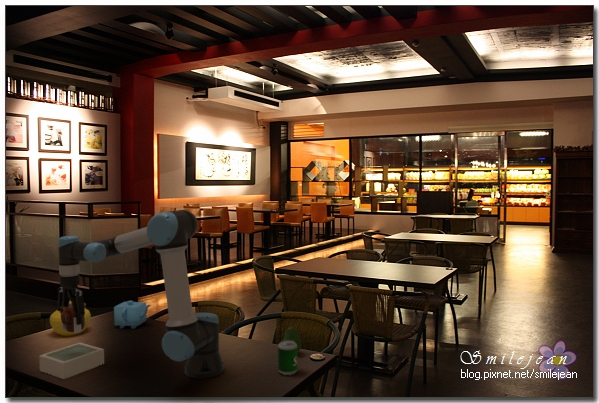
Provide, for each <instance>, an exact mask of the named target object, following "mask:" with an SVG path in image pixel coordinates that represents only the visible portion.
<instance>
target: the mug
mask: <svg viewBox="0 0 599 403" xmlns="http://www.w3.org/2000/svg"><path fill="white" fill-rule="evenodd" d="M86 305H87V304H86V303H85V302H84V309H86ZM62 308H63V310H64V311H63V312H62V313H61V321H62V323H63V324H64V325H65V329H66V331H68V332H74V316H75V314H74V310H73V306H72V303H70V304H69V306H68V307H65V306H62ZM77 314H78V313H77ZM84 326H85V316H84V315H82V316H81V330H83V329H84Z"/></svg>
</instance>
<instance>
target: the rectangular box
mask: <svg viewBox="0 0 599 403" xmlns="http://www.w3.org/2000/svg"><path fill="white" fill-rule="evenodd" d="M38 357H39V358H38V359H39V360H38V361H39V371H40V372H43V373H45V374H47V373H48V375H50V374H51V376H54V377H55V378H59V379H62V380H65V379H68V378H71V377H74V376H76V375H79V374H81V373H84V372H87V371H89V370H92V369H95V368H97V367H100V366H103V365H104V364H105V349H104V348H101V347H99V346H94V345H90V344H86V343H83V342H77V343H73V344H70V345H68V346H65V347H62V348H58V349H55V350H52V351H49V352H46V353H43V354H40V355H39V356H38ZM102 364H103V365H102ZM99 365H100V366H99Z"/></svg>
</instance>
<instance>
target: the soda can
mask: <svg viewBox="0 0 599 403" xmlns="http://www.w3.org/2000/svg"><path fill="white" fill-rule="evenodd" d="M277 353H278V354H277V359H278V360H277V361H278V362H277V366H278V368H277V369H278V372H279V373H280V374H281V375H282V374H283V376H286V375H289V376H293V375H295V374H296V373H297V372H298V353H297V344H296V343H295V342H294V341H292V340H284V341H283V340H281V341H280V342H279V343H278V345H277ZM294 373H295V374H294ZM292 374H293V375H292Z"/></svg>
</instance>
